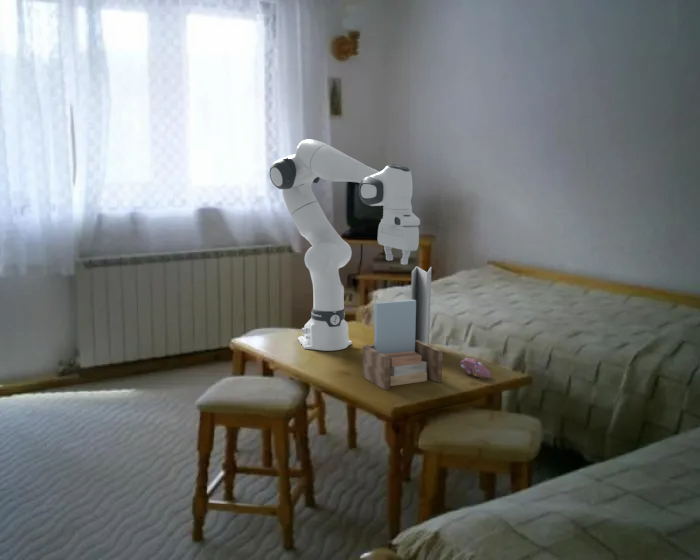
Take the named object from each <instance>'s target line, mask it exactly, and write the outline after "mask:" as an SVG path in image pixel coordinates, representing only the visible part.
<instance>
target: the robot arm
mask: <svg viewBox="0 0 700 560" xmlns="http://www.w3.org/2000/svg"><path fill="white" fill-rule="evenodd" d="M412 175H413V174H412V172H411V169H410V168H409V167H408V166H405V165H400V164H387V165H386V166H385V167H384V168H383V169H382V170H379V169H377V168H376V167H373V166H371V165H368V164H366V163H363V162H361V161H360V160H357V159H355V158H353V157H351V156H350V155H348V154H346V153H344V152H342V151H341V150H339V149H337V148H335V147H333V146H331V145H329V144H328V143H325V142H323V141H320V140H316V139H312V138H307V139H304V140H302V141H300V142H299V144H298V145H297V146H296V149H295V152H294V153H293V154H290V155H287V156H285V157H283V158H279V159H277V160H276V161H274V162H273V163H272V164H271V165H270V168H269V179H270V181H271V183H272V184H273V185H274V186H275V187H276V188H277V189H278V190H281V193H282V197H283V199H284V203H285V206H286V208H287V210H288V213H289V215H290V217H291V219H292V221H293V223H294V225H295V228H297V230H298V233H299V234H300V235H301V236H302V237H303V238H305V239H306V241H308V242H309V244H310V245H311V246H310V247H309V248H308V249H307V251H306V252H305V255H304V264H305V266H306V268H307V269H308V271H309V274H310V279H311V283H312V291H313V298H312V299H313V304H312V305H313V307H312V308H311V311H310V312H311V315H310V317H311V318H310V319H308V321H307V322H306V323H305V324H304V327H302V328H301V334H302V335H300V336H298V337H297V341H298V340H299V341H298V342H299V343H300V345H301V344H302V345H301V346H302V347H303V349H306V350H315V351H316V350H317V351H324V352H326V351H329V352H332V351H340V350H341V351H342V350H344V349H346V348H348V347H349V346H350V345H352V343H353V342H352V340H350V336H349V323H348V322H347V321H346V320H345V318H346V311H345V310H346V309H345V307H344V306H345V305H344V304H345V301H344V300H345V299H344V298H345V292H344V291H345V288H344V285H343V283H342V281H341V277H340V273H339V270H340V268H343V267H345V266H346V265H347V264H348V263H349V262H350V260H351V258H352V248H351V246H350V244H349V243H348V242H347V241H345V240H344V239H343V238H342V237H341V236H340V234H339V233H338V231H337V230H336V229H335V228H334V226H333V225H332V224H331V223H330V221H329V219H328V217H327V216H326V215H325V213H324V211H323V209H322V207H321V205H320V203H319V201H318V199H317V197H316V196H315V194H314V192H313V189H312V184H313V183H314V184H318V183H319V181H320V180H321V179H322V180H325V181H328V182H337V183H338V182H347V183H348V182H351V183H358V184H359V186H358V195H359V199H360V200H361V202H362V203H363V204H365V205H366V206H371V207H375V206H376V207H378V206H379V207H381V206H383V207H382V209H383V211H382V212H383V213H382V215H383V216H382V218H381V219H380V222H379V224H378V228H377V243H378V245H381V246H383V250H384V252H385V260H387V261H388V262H389V261H393V260H394V254H393V252H392V249H397V250H401V253H402V257H401V258H400V264H401V265H403V266H406V265H408V263H409V257H410V255H411V252H416V251H417V250H418V248H419V242H420V229H419V227H418V226H420V225H421V219H420V218H419V217H418V216H417V215H416V214H415V213H414V212H413V205H412V198H413V197H412V196H413V177H412Z"/></svg>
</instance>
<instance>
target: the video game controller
mask: <svg viewBox="0 0 700 560" xmlns="http://www.w3.org/2000/svg"><path fill="white" fill-rule="evenodd" d="M459 365H460V367H461V368H462V369H463V370H464V371H465V373H467V375H469V374H470V375H469V376H471V375H473V376H474V377H475V376H476V377H475V378H477V377H478V378H480V377H484V378H486V379H490V378H491V377H492V376H491V375H492V373H491V371H490V370H489V369H488V368H486V366H485V365H484V364H483V363H482V362H481V361H478V360H477V359H475V358H468V357H465V358H463V359H462V360H460V361H459Z"/></svg>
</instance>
